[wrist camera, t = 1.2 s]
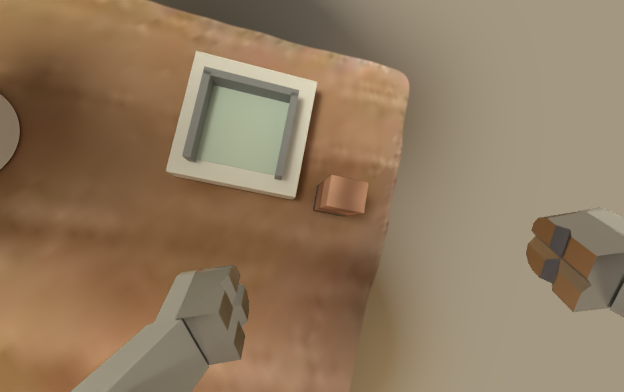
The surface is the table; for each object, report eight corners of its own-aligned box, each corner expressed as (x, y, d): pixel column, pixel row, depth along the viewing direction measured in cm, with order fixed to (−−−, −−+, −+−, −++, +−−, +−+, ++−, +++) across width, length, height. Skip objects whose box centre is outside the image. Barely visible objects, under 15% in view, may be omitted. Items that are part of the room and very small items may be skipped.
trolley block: (313, 210, 47) (326, 205, 37) (317, 185, 47) (331, 174, 38) (343, 216, 48) (363, 213, 38) (347, 192, 48) (368, 182, 38)
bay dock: (174, 176, 44) (157, 166, 37) (201, 65, 46) (191, 37, 40) (292, 199, 47) (297, 194, 40) (313, 93, 49) (321, 71, 42)
